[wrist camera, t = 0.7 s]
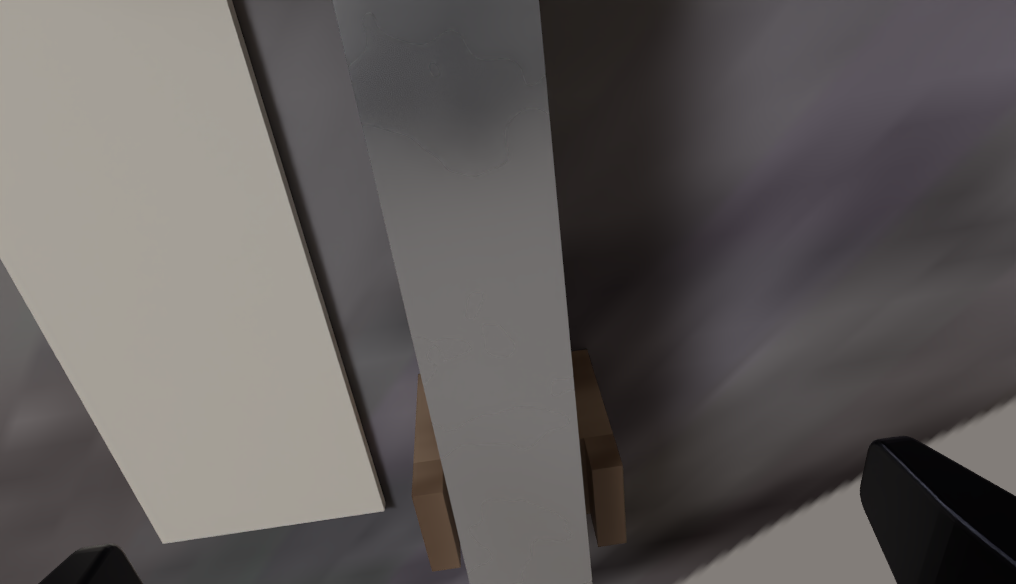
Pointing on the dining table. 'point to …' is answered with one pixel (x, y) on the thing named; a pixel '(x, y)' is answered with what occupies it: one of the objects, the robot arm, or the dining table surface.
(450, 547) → the post
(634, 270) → the dining table surface
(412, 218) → the rail
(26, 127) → the mat
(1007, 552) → the robot arm
